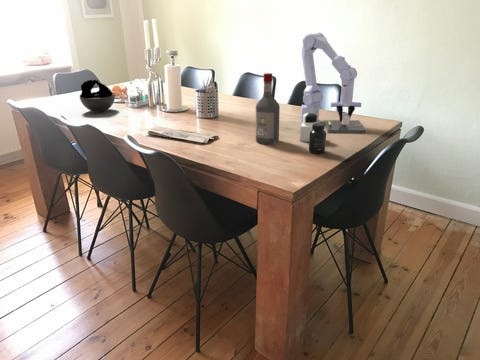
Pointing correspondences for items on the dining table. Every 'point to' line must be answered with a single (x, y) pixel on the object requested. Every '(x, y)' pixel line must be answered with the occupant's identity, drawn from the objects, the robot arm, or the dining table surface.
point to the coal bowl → (96, 96)
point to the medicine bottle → (307, 126)
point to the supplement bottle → (317, 139)
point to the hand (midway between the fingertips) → (344, 121)
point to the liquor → (267, 115)
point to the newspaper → (181, 134)
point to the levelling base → (344, 126)
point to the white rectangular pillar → (345, 118)
